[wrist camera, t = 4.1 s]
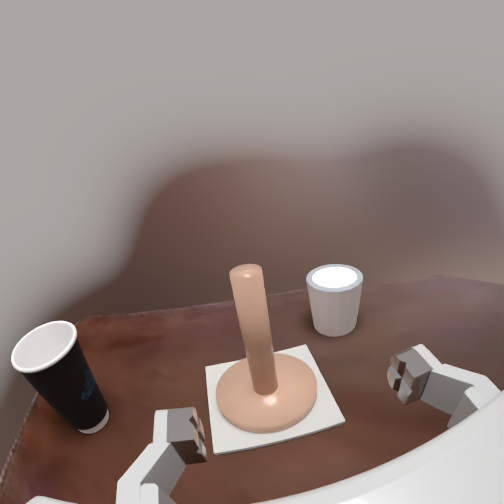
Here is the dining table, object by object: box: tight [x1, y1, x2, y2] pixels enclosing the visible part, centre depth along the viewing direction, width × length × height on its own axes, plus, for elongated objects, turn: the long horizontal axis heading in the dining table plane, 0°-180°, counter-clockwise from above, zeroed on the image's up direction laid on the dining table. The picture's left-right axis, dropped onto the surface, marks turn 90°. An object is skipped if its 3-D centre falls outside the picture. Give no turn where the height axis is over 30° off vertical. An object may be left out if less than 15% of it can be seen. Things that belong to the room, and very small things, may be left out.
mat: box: [206, 345, 345, 455], centre depth 28 cm, size 12×12×1 cm
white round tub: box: [306, 264, 363, 336], centre depth 36 cm, size 7×7×7 cm
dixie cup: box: [11, 321, 109, 434], centre depth 23 cm, size 8×8×11 cm
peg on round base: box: [216, 264, 317, 434], centre depth 25 cm, size 10×10×14 cm
